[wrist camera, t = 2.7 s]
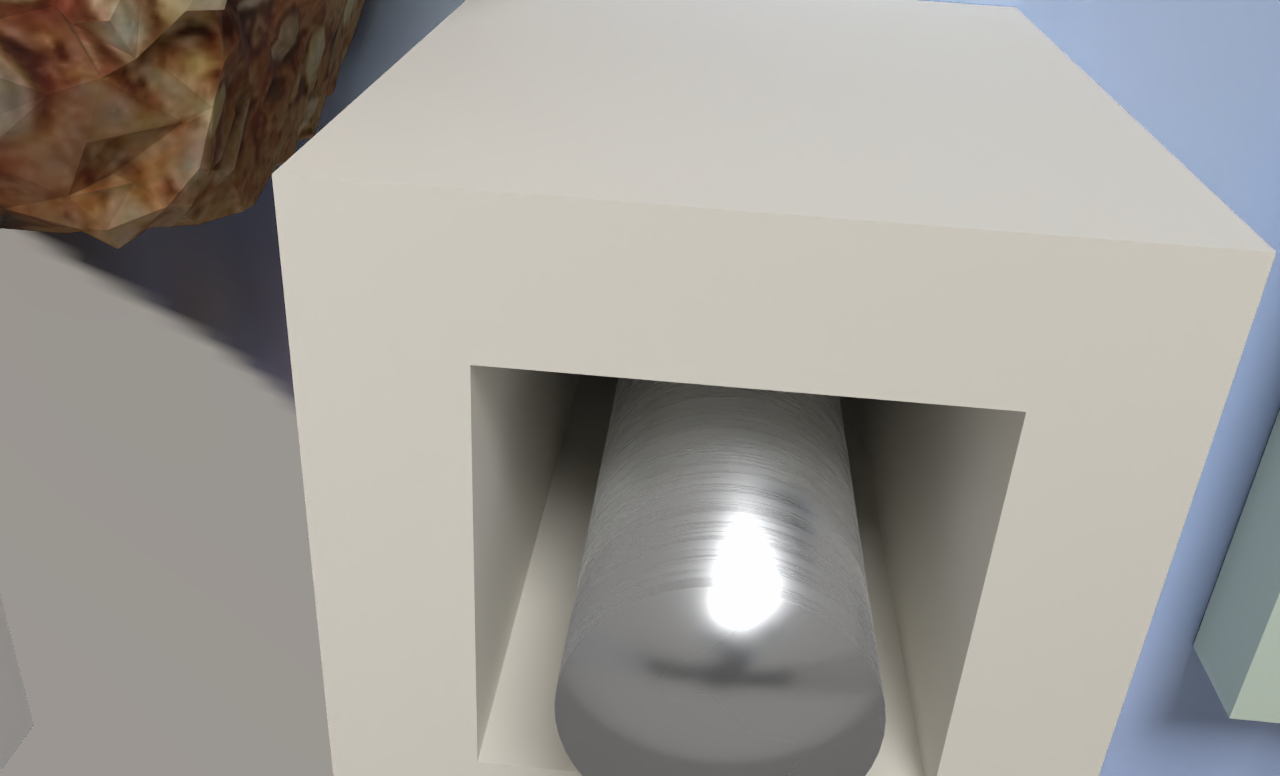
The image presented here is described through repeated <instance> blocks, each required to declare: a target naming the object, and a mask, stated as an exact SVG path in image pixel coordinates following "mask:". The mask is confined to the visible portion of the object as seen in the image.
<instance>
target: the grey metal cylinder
mask: <svg viewBox="0 0 1280 776" xmlns="http://www.w3.org/2000/svg"><path fill="white" fill-rule="evenodd" d="M554 705H555V721H556V725H557V729H558V733H559V737H560V739H561V742H562V744H563V747H564V749H565V751H566V753H567V755H568V756H569V758H570V760H571V761H572V763H573V765H574V766H575V767H576V769H577V770H578V771H579V772H580V773H581V775H582V776H865V775H866V774H867V773H868V771H869V770H870V769H871V767H872V765H873V763H874V761H875V759H876V757H877V755H878V753H879V751H880V748H881V744H882V741H883V738H884V731H885V723H886V714H885V701H884V695H883V688H882V681H881V674H880V668H879V661H878V654H877V647H876V641H875V634H874V627H873V620H872V614H871V607H870V600H869V593H868V587H867V580H866V573H865V566H864V560H863V553H862V546H861V540H860V533H859V526H858V519H857V513H856V506H855V499H854V492H853V486H852V479H851V472H850V465H849V459H848V452H847V445H846V438H845V432H844V425H843V418H842V411H841V405H840V398H839V396H832V395H820V394H808V393H796V392H785V391H773V390H761V389H749V388H737V387H725V386H713V385H702V384H690V383H678V382H666V381H654V380H642V379H631V378H619V377H618V382H617V387H616V392H615V397H614V402H613V407H612V412H611V417H610V422H609V427H608V432H607V437H606V442H605V447H604V452H603V457H602V462H601V467H600V472H599V477H598V482H597V487H596V492H595V497H594V502H593V507H592V512H591V517H590V522H589V527H588V532H587V537H586V542H585V547H584V552H583V557H582V562H581V567H580V572H579V577H578V582H577V587H576V592H575V597H574V602H573V607H572V612H571V617H570V622H569V627H568V632H567V637H566V642H565V647H564V652H563V657H562V662H561V667H560V672H559V677H558V682H557V687H556V695H555V704H554Z"/></svg>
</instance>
